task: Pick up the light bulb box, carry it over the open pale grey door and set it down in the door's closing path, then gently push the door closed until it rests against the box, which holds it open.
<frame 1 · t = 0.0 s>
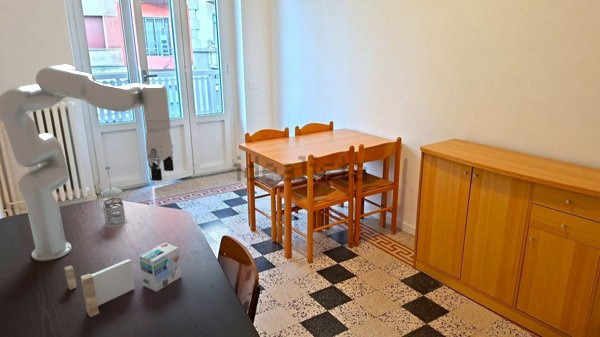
hand: (163, 175, 139), 31 cm above the table, tool pointing down, fingers open, 9 cm apart
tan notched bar: (90, 309, 122), on the table
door: (109, 283, 125), point 5 cm above the table, hinge at 85.0°
light bulb box: (162, 281, 136), on the table
french press: (113, 222, 177), on the table
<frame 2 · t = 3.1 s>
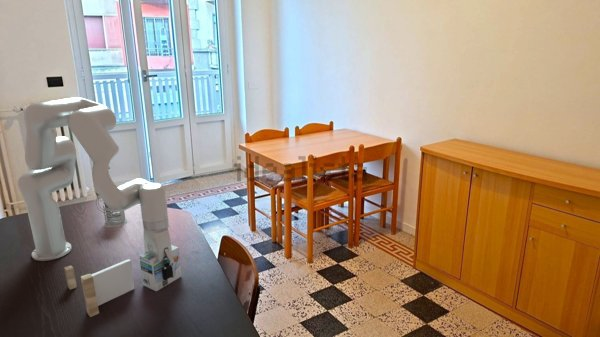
hand: (161, 272, 135), 3 cm above the table, tool pointing down, fingers closed on light bulb box, 7 cm apart
light bulb box: (162, 281, 136), on the table, touching gripper
everything else where it was.
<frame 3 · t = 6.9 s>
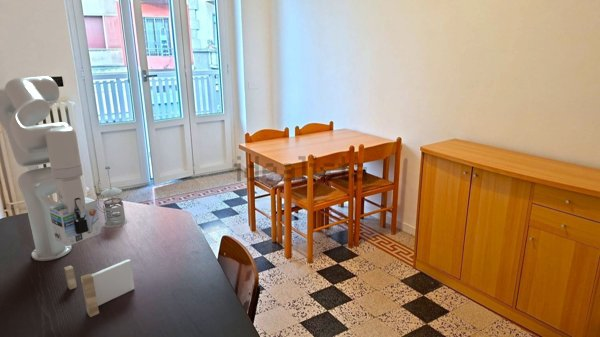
hand: (77, 227, 124), 22 cm above the table, tool pointing down, fingers closed on light bulb box, 7 cm apart
light bulb box: (78, 237, 125), point 18 cm above the table, touching gripper
everything else where it was.
when the fingers open (4 cm above the table, at t = 10.8 s): light bulb box stays where it is, on the table.
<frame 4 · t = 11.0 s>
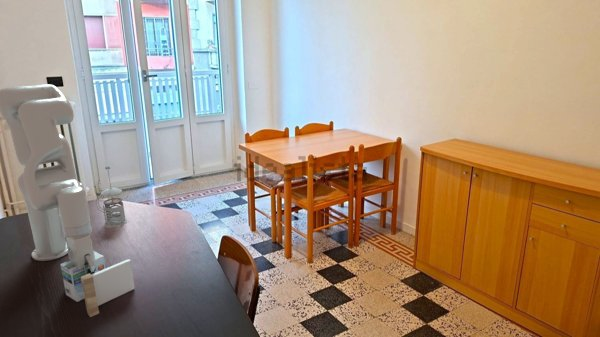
hand: (86, 278, 129), 4 cm above the table, tool pointing down, fingers open, 9 cm apart
light bulb box: (88, 290, 131), on the table
everything else where it was.
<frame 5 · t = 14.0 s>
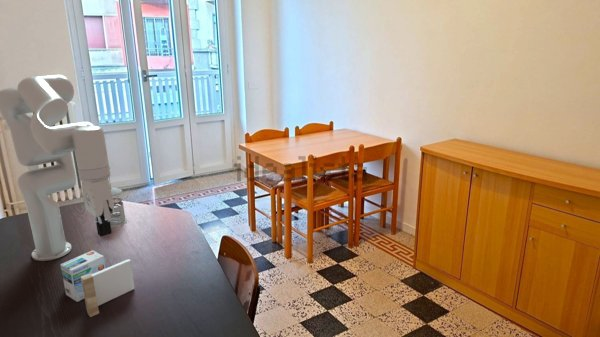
hand: (105, 234, 118), 22 cm above the table, tool pointing down, fingers closed
nothing on the table moved.
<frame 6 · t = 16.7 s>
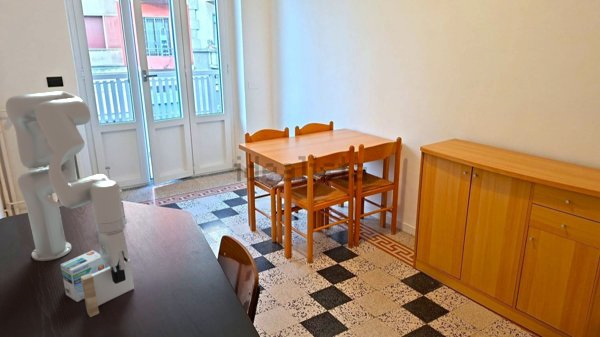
hand: (119, 280, 124), 7 cm above the table, tool pointing down, fingers closed
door: (109, 283, 125), point 5 cm above the table, hinge at 83.7°, touching gripper
everything else where it was.
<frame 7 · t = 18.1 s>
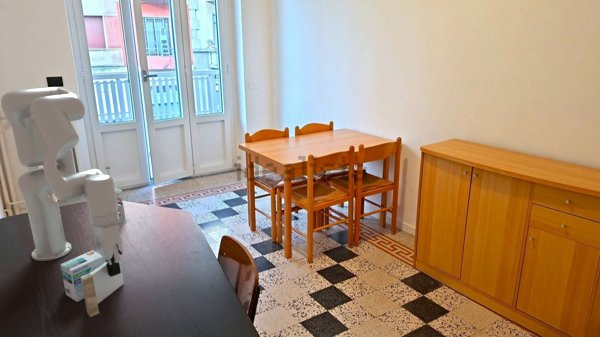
hand: (114, 274, 126), 7 cm above the table, tool pointing down, fingers closed
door: (103, 281, 126), point 5 cm above the table, hinge at 62.5°, touching gripper
everything else where it was.
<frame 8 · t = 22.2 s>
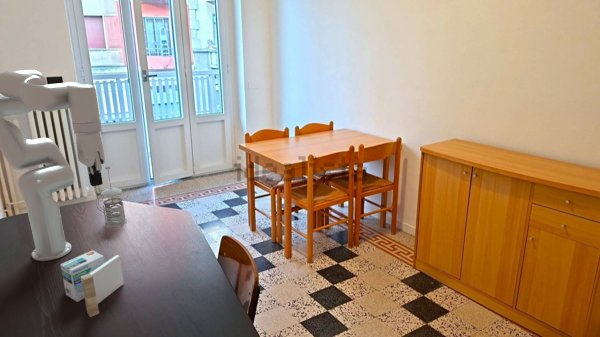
hand: (96, 184, 131), 31 cm above the table, tool pointing down, fingers closed
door: (103, 281, 126), point 5 cm above the table, hinge at 62.4°
everything else where it was.
at the end: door at +62° (first picture: +85°); light bulb box inside the target area (0.1 cm from its centre), on the table; light bulb box tilted 0° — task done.
